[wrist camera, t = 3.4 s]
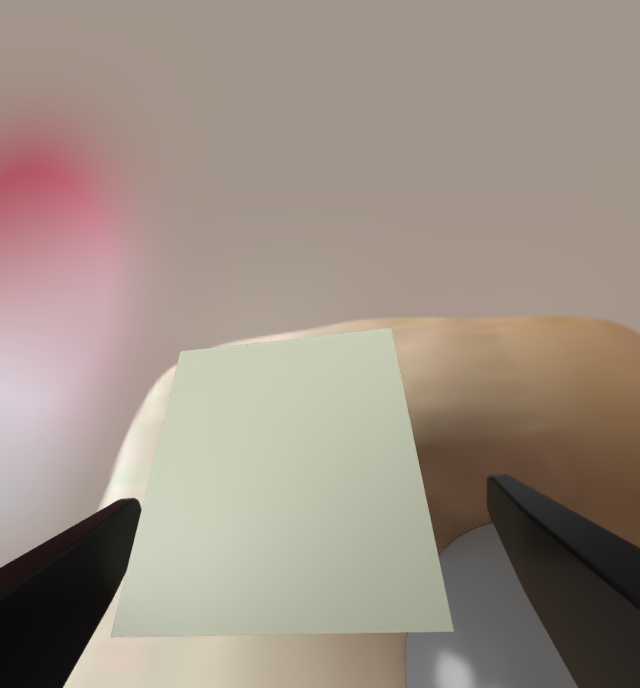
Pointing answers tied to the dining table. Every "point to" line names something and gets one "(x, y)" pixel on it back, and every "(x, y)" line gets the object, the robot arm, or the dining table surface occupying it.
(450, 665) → the slate coaster
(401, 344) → the dining table surface
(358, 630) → the block
